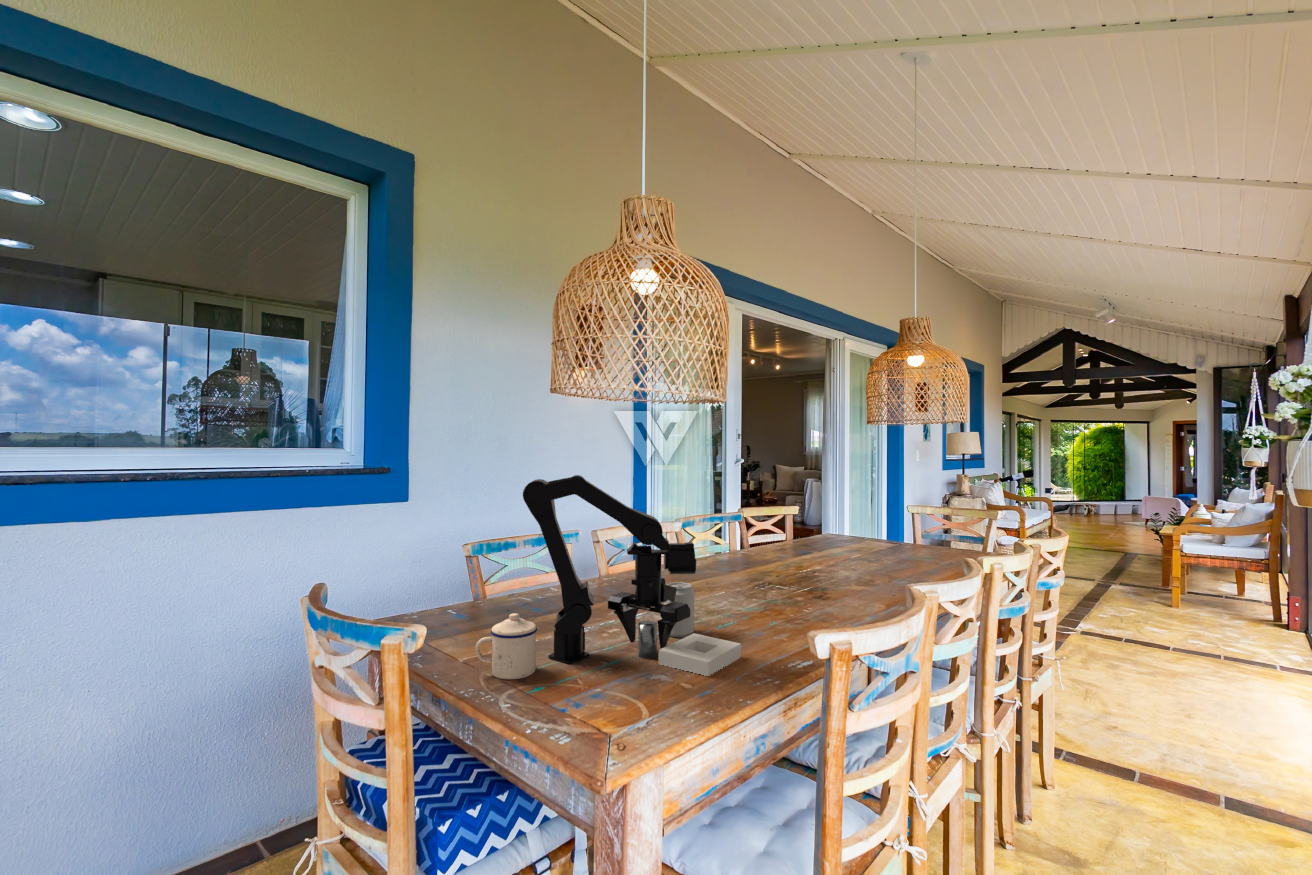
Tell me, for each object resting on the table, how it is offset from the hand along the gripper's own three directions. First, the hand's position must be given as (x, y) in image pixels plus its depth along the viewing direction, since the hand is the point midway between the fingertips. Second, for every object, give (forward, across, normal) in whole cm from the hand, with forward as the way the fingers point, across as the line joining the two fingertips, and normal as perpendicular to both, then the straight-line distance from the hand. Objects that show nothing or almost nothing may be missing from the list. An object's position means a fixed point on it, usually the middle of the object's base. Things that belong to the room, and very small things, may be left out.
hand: (647, 645), depth 137 cm
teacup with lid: (+2, +17, +25) cm, 30 cm away
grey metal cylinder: (+2, 0, 0) cm, 2 cm away
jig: (+2, -11, -4) cm, 12 cm away
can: (+2, +3, -17) cm, 17 cm away
